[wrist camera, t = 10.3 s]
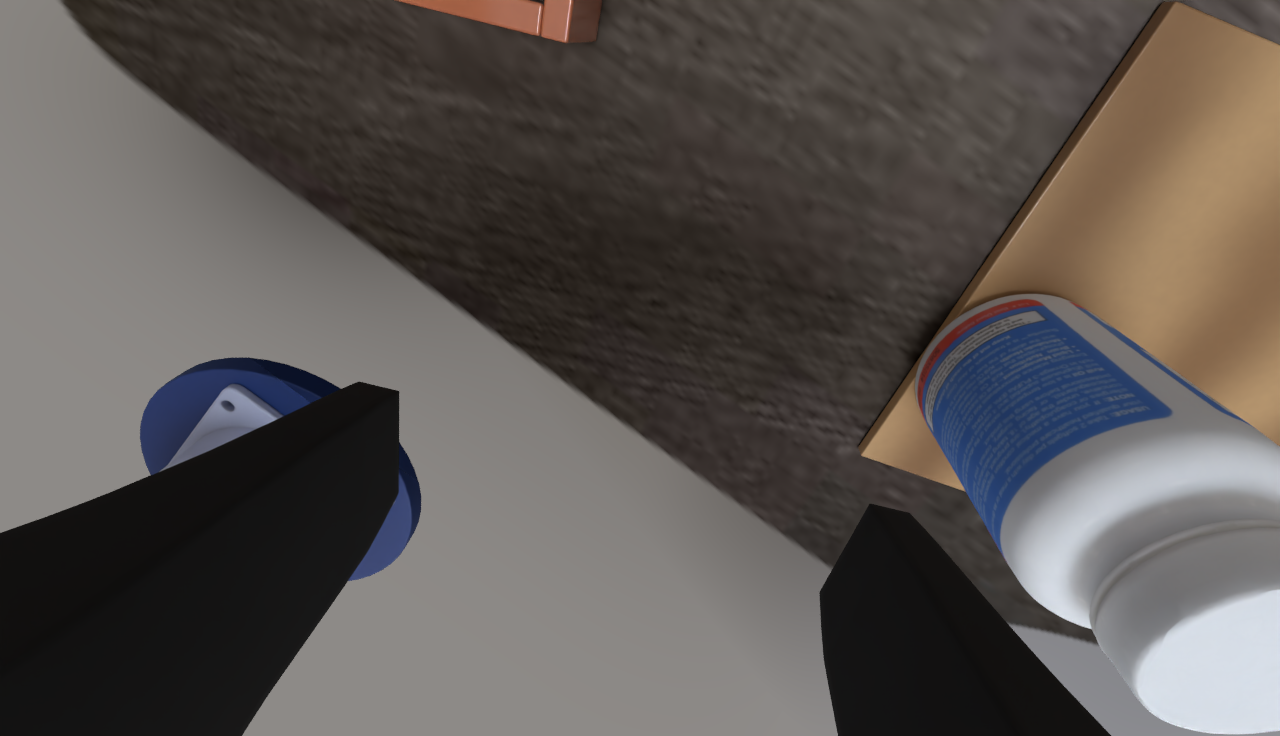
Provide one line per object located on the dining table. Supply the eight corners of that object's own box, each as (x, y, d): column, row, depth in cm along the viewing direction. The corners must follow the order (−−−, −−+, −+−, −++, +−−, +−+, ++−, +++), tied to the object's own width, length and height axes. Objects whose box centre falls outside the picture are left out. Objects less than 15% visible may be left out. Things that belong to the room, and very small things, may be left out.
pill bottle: (891, 433, 19) (1030, 737, 11) (938, 282, 17) (1170, 531, 8) (1062, 448, 19) (1342, 776, 11) (1139, 296, 16) (1593, 572, 8)
